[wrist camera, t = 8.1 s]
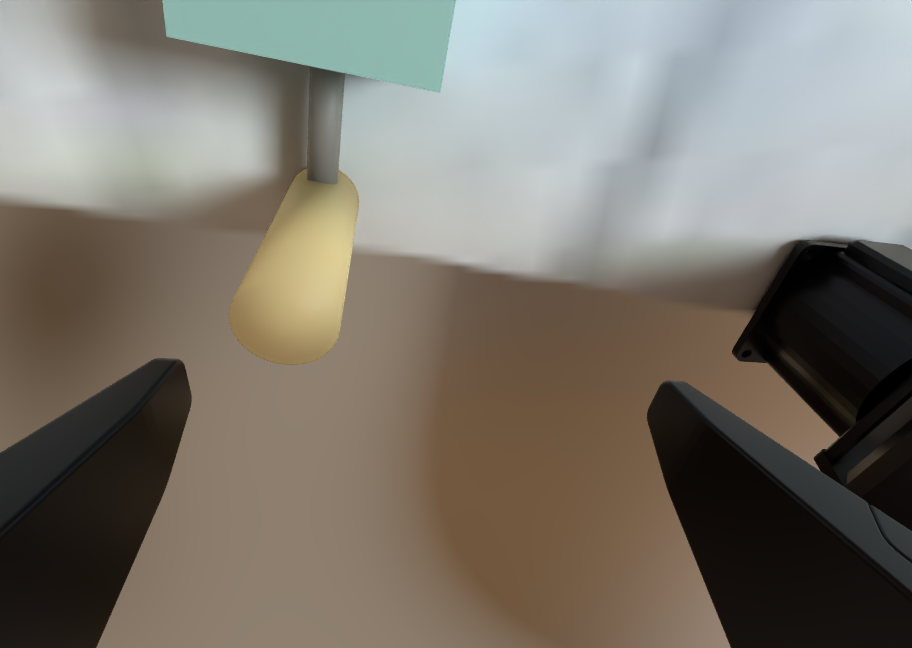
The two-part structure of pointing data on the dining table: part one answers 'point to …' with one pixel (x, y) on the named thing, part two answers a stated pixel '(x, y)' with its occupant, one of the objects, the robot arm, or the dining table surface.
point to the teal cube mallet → (314, 147)
